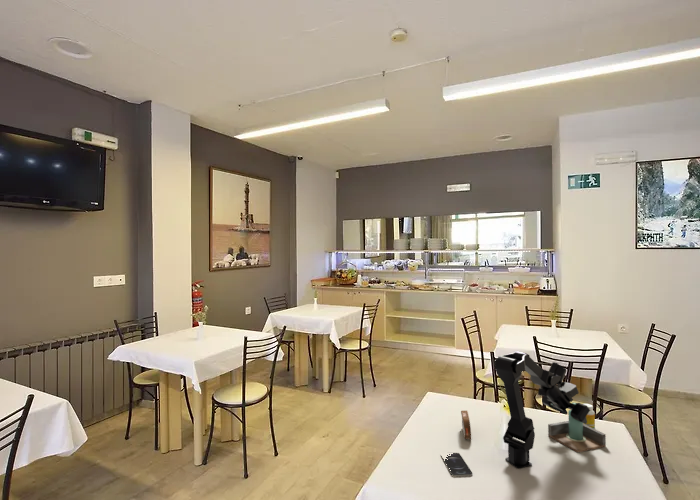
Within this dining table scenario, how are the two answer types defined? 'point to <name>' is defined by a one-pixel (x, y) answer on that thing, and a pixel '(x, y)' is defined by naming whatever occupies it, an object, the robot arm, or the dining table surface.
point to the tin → (466, 425)
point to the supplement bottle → (590, 417)
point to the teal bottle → (575, 428)
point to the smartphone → (457, 465)
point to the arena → (589, 442)
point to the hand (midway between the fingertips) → (576, 418)
